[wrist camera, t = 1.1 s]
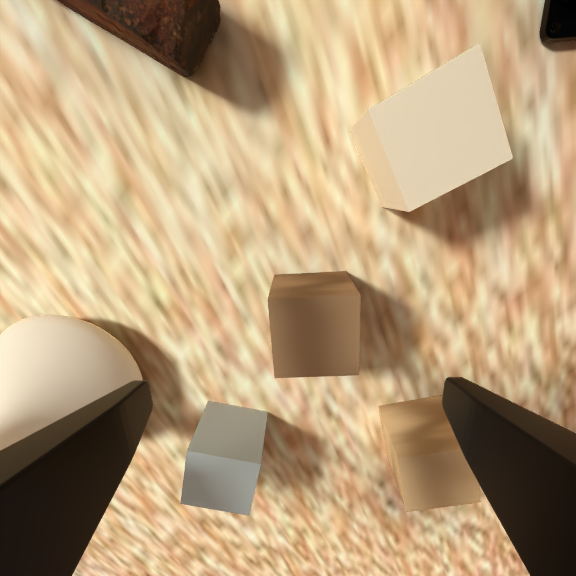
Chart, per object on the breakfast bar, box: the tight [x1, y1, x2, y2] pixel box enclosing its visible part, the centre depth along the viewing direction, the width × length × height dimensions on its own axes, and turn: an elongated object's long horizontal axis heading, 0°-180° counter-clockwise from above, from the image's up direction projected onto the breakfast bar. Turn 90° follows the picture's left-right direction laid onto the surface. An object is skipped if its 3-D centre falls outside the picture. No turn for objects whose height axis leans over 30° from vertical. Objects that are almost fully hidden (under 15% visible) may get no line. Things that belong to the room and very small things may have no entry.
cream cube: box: [349, 43, 513, 212], centre depth 16 cm, size 5×5×5 cm
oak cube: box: [378, 395, 480, 512], centre depth 22 cm, size 5×5×5 cm
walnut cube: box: [268, 271, 361, 378], centre depth 19 cm, size 5×5×5 cm
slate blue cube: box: [181, 401, 268, 515], centre depth 23 cm, size 5×5×5 cm
